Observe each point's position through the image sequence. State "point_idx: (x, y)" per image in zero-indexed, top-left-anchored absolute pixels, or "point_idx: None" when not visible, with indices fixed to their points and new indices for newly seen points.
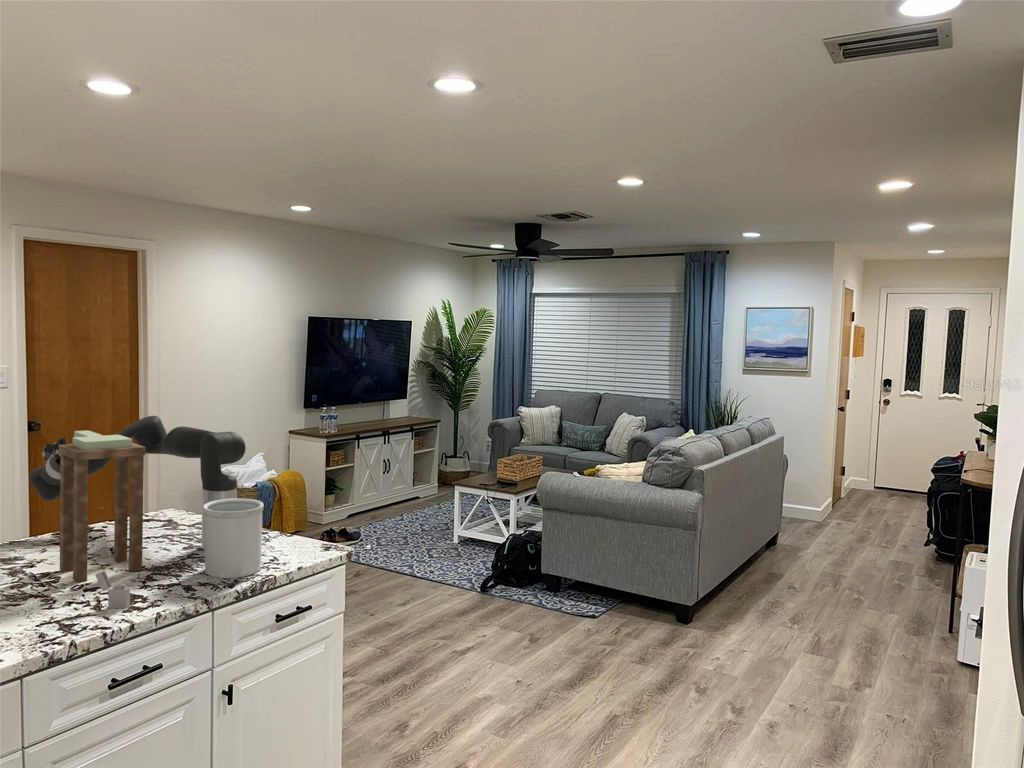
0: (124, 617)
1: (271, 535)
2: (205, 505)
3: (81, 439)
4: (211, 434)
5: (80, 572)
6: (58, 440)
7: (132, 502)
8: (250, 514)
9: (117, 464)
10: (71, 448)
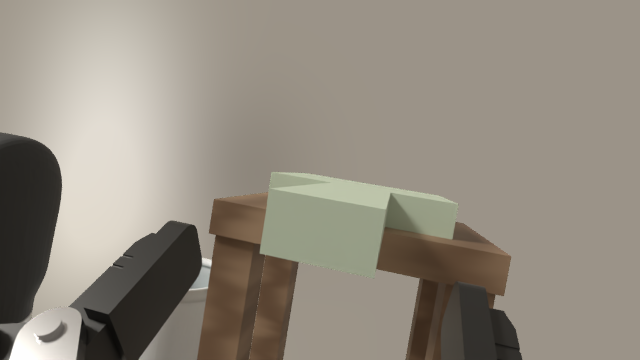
0: None
1: None
2: (200, 288)
3: (437, 197)
4: (34, 140)
5: None
6: (510, 330)
7: (283, 350)
8: None
9: (253, 299)
10: (467, 232)
